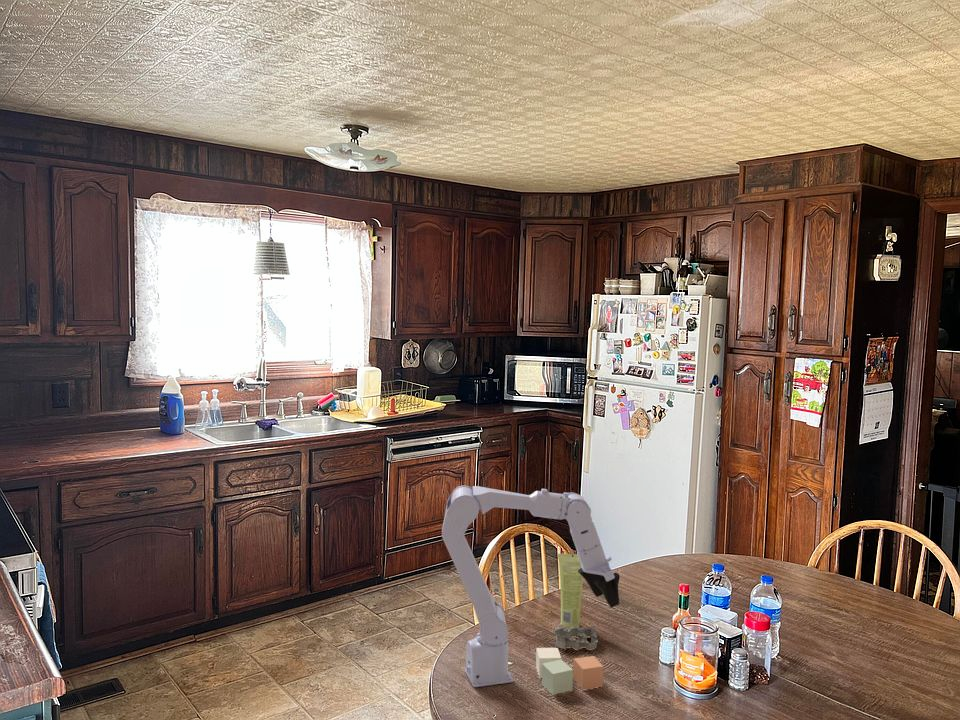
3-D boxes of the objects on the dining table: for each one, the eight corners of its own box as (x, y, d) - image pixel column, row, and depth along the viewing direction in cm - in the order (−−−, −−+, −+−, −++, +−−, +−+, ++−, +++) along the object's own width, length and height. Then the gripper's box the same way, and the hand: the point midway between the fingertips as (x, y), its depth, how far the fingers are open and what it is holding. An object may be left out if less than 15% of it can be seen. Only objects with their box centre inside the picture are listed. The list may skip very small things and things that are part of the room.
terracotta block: (582, 691, 160) (582, 669, 159) (573, 679, 164) (573, 658, 164) (602, 688, 161) (603, 666, 161) (593, 676, 166) (593, 655, 165)
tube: (571, 619, 196) (572, 549, 195) (585, 625, 192) (586, 554, 191) (556, 625, 193) (557, 553, 191) (570, 631, 189) (571, 558, 187)
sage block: (552, 696, 157) (553, 674, 157) (541, 685, 162) (541, 663, 162) (572, 691, 159) (572, 669, 159) (560, 680, 164) (561, 659, 164)
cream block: (539, 679, 164) (539, 658, 164) (536, 668, 169) (536, 648, 169) (561, 679, 165) (561, 657, 164) (557, 668, 170) (557, 647, 169)
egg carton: (554, 651, 178) (554, 635, 178) (554, 637, 186) (554, 622, 186) (598, 653, 178) (598, 637, 177) (596, 639, 185) (596, 623, 185)
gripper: (617, 545, 158) (637, 602, 159) (590, 531, 172) (608, 583, 173) (589, 559, 156) (609, 616, 157) (564, 543, 170) (583, 596, 171)
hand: (607, 600), depth 165 cm, fingers open, 7 cm apart
